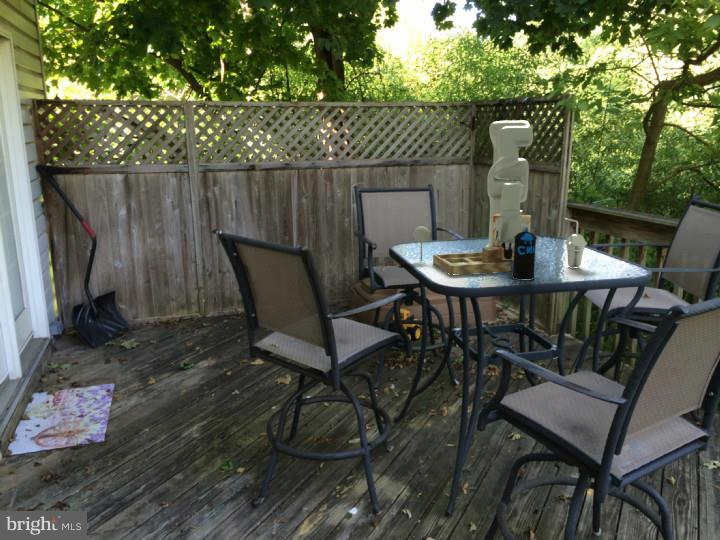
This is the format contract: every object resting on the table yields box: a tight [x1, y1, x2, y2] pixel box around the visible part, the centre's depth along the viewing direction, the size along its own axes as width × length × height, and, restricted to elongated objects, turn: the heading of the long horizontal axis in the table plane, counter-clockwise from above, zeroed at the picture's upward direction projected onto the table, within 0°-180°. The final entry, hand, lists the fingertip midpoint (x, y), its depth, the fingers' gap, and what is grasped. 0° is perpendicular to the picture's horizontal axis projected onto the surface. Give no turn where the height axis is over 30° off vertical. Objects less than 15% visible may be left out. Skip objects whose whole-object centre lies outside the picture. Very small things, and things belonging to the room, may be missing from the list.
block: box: [481, 246, 503, 263], centre depth 235 cm, size 6×6×6 cm
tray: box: [432, 251, 512, 276], centre depth 238 cm, size 25×22×4 cm
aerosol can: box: [512, 226, 538, 279], centre depth 219 cm, size 8×8×20 cm
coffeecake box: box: [492, 214, 532, 261], centre depth 252 cm, size 15×7×20 cm, turn 65°
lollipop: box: [413, 225, 431, 261], centre depth 253 cm, size 7×7×15 cm
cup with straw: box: [564, 217, 588, 267], centre depth 235 cm, size 8×9×20 cm
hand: (507, 258), depth 237 cm, fingers closed
